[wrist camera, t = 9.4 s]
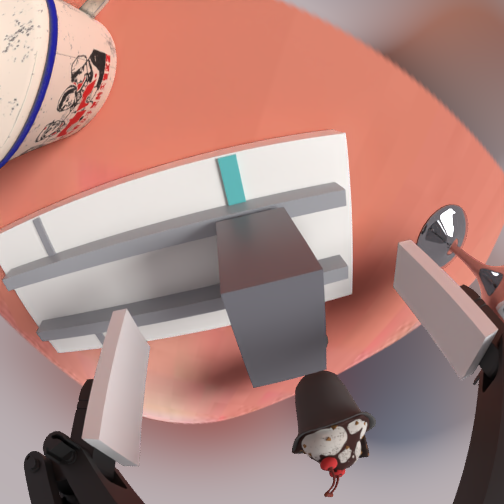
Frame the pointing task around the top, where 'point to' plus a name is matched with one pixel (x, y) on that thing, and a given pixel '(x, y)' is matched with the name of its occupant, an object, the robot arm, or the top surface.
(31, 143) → the teacup with lid
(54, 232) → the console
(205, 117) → the top surface
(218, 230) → the fader tab
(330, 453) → the sundae
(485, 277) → the wine glass
